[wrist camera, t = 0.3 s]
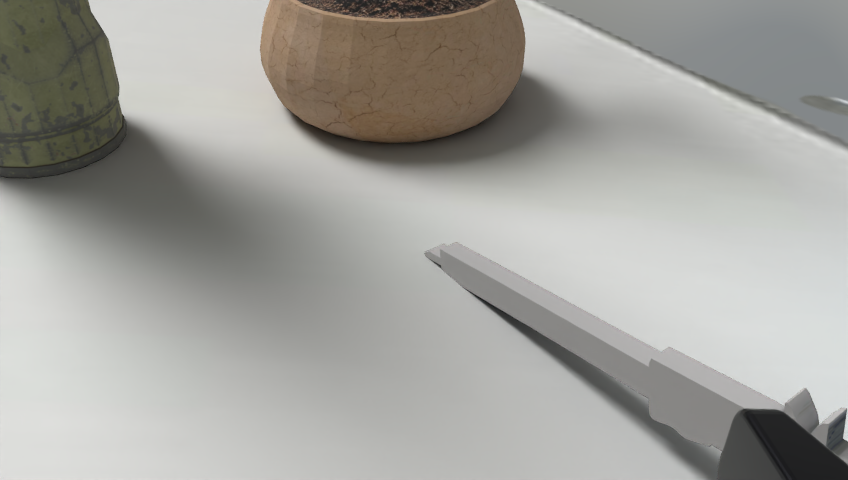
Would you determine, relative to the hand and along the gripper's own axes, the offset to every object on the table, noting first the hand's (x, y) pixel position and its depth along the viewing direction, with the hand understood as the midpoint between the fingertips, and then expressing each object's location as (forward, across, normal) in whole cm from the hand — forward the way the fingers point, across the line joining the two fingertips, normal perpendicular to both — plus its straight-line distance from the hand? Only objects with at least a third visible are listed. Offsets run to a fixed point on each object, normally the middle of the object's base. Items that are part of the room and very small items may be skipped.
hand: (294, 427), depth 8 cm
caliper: (+18, -8, +16) cm, 25 cm away
